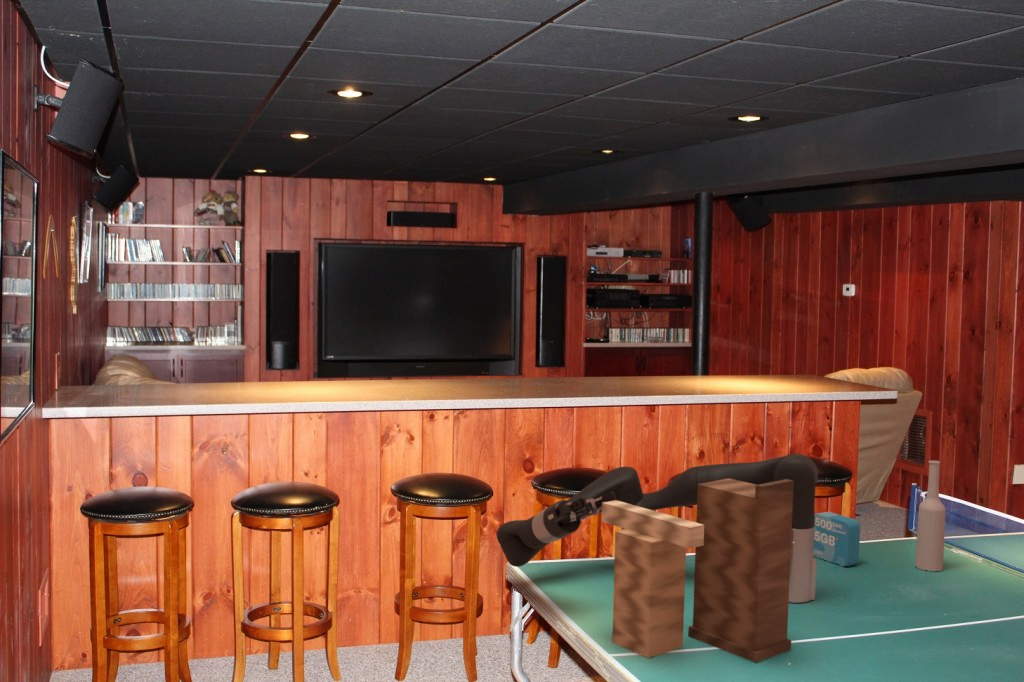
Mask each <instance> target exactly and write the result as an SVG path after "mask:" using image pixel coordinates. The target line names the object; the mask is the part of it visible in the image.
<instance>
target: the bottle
mask: <svg viewBox="0 0 1024 682" xmlns="http://www.w3.org/2000/svg"><path fill="white" fill-rule="evenodd" d="M928 463H929V466H928V469H929V470H928V471H929V472H928V481H927V483H928V484H927V491H926V497H925V499H924V500H922V501H921V502H920V504H919V505H918V515H917V517H918V518H917V533H916V546H915V547H916V548H915V549H916V550H915V565H914V566H916V567H917V568H919V569H918V570H920V569H923V570H929V571H940V570H942V571H944V554H945V553H944V552H945V532H946V529H945V528H946V507H945V505H944V503H943V502H942V501H941V500H940V499H941V498H940V495H939V494H940V490H939V488H940V487H939V484H940V483H939V482H940V481H939V480H940V464H941V462H940V461H939V460H934V459H933V460H928ZM916 567H915V568H916ZM917 568H916V569H917ZM923 570H922V571H923Z"/></svg>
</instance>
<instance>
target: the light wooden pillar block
mask: <svg viewBox="0 0 1024 682" xmlns="http://www.w3.org/2000/svg"><path fill="white" fill-rule="evenodd" d="M614 534H615V535H614V565H613V566H614V568H613V569H614V571H613V572H614V573H613V601H612V603H613V606H612V633H611V634H612V638H611V639H612V641H611V642H612V643H613V644H615V645H618V646H619V647H622V648H624V649H626V650H628V649H629V650H628V651H631V652H633V653H635V652H636V654H637V653H638V655H640V654H641V655H640V656H642V655H643V657H644V656H646V657H645V658H647V657H651V658H652V656H654V657H656V656H659V655H662V654H666V653H669V652H671V651H674V650H678V649H679V648H683V646H684V621H685V619H684V617H685V616H684V615H685V593H686V591H685V590H686V564H687V563H686V561H687V560H686V559H687V557H686V556H687V548H686V547H683V546H680V545H676V544H673V543H670V542H667V541H663V540H660V539H657V538H654V537H650V536H647V535H644V534H641V533H637V532H634V531H631V530H628V529H624V528H622V529H619V530H615V533H614Z"/></svg>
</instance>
